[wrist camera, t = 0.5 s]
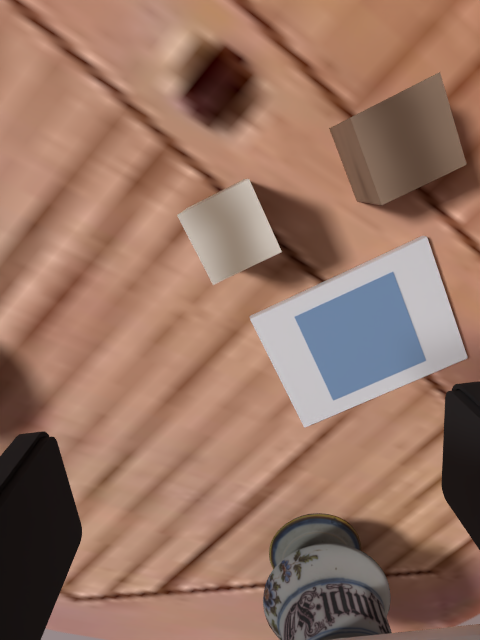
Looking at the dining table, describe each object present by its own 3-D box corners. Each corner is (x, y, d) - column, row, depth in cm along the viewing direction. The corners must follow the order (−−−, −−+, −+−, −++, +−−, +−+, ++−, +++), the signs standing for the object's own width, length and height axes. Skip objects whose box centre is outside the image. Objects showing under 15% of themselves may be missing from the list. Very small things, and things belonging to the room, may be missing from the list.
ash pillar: (244, 179, 34) (248, 178, 26) (270, 236, 35) (281, 251, 28) (188, 207, 34) (177, 215, 27) (216, 262, 36) (213, 284, 28)
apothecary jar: (344, 601, 48) (408, 832, 31) (244, 578, 47) (253, 808, 30) (388, 519, 45) (488, 729, 28) (281, 492, 43) (316, 696, 26)
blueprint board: (422, 235, 35) (427, 236, 35) (463, 354, 39) (468, 358, 38) (249, 316, 37) (250, 319, 36) (303, 423, 41) (304, 428, 40)
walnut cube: (402, 91, 32) (439, 72, 26) (426, 167, 34) (466, 164, 28) (329, 128, 33) (350, 117, 27) (356, 201, 35) (381, 205, 29)
